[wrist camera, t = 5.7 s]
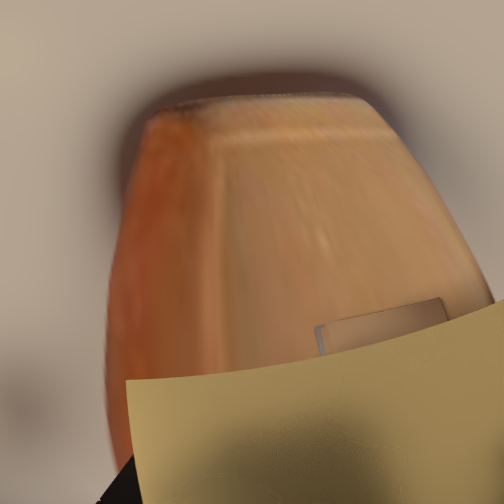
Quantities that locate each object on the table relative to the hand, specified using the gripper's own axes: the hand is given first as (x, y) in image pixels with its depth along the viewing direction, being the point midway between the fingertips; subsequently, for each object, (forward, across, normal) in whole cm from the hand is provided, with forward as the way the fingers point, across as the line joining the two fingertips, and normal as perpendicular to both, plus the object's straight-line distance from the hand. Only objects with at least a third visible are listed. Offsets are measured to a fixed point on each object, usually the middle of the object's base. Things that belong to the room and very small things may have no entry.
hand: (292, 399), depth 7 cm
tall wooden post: (+3, 0, +4) cm, 5 cm away
